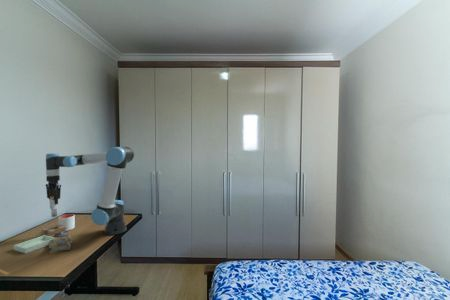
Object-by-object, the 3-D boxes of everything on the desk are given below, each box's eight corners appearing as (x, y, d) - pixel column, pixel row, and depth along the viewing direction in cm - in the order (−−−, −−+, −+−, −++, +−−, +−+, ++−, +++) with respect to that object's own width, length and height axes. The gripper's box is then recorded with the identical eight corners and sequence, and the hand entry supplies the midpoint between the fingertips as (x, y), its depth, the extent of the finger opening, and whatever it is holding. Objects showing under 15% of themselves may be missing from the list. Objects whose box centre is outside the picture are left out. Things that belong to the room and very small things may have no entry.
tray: (56, 242, 155) (56, 237, 155) (25, 253, 139) (25, 248, 139) (44, 239, 160) (44, 235, 160) (13, 250, 144) (13, 245, 144)
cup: (77, 227, 183) (77, 214, 183) (68, 232, 173) (67, 218, 173) (65, 226, 184) (65, 213, 184) (55, 231, 174) (55, 218, 174)
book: (52, 244, 153) (52, 236, 153) (72, 240, 158) (72, 233, 158) (49, 253, 140) (49, 245, 140) (71, 249, 146) (71, 241, 146)
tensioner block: (72, 235, 167) (72, 228, 167) (57, 240, 158) (57, 233, 158) (56, 231, 174) (56, 224, 174) (42, 236, 164) (41, 229, 164)
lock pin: (58, 215, 168) (58, 196, 167) (53, 217, 164) (52, 197, 164) (55, 215, 169) (54, 195, 169) (49, 216, 166) (48, 196, 165)
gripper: (66, 175, 166) (66, 208, 167) (51, 174, 172) (52, 206, 173) (54, 176, 159) (55, 211, 160) (39, 175, 165) (40, 208, 166)
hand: (53, 208), depth 167 cm, fingers closed on lock pin, 3 cm apart
